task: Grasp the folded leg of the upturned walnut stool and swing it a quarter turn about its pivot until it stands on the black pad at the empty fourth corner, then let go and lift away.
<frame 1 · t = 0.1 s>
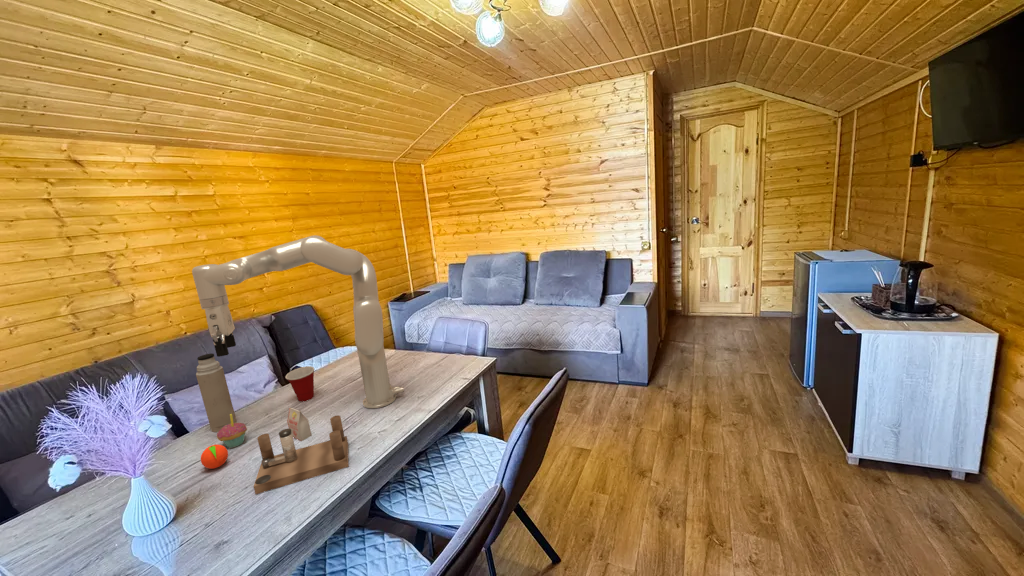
hand: (227, 351, 140), 31 cm above the table, tool pointing down, fingers open, 9 cm apart
cupcake: (235, 444, 141), on the table
stool seat: (305, 466, 124), on the table
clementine: (217, 467, 129), on the table
plastic cup: (305, 399, 171), on the table
thermos bottle: (224, 426, 154), on the table
stool leg: (277, 448, 122), point 7 cm above the table, hinge at 90.0°
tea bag: (301, 436, 142), on the table
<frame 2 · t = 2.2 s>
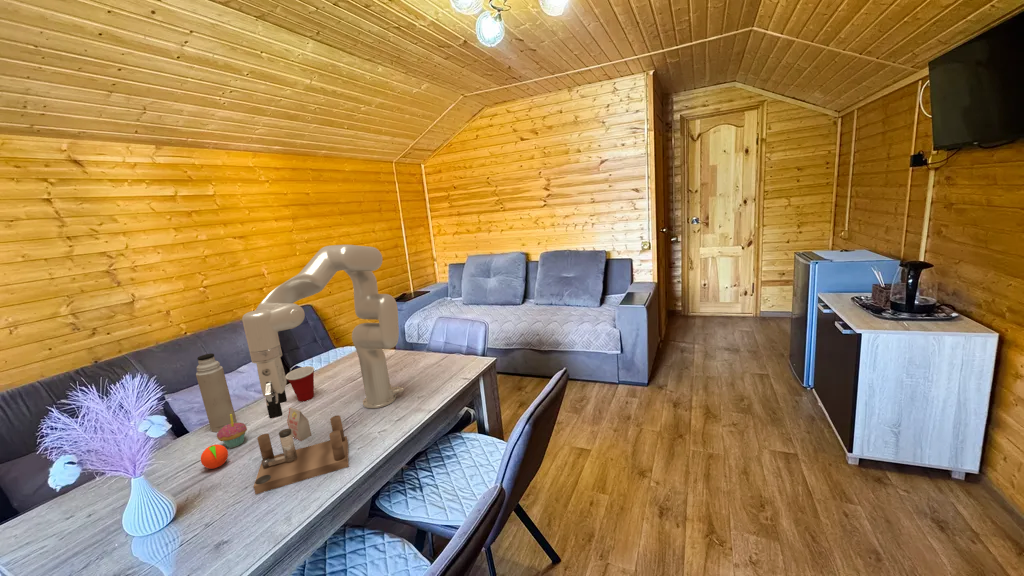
hand: (278, 409, 120), 19 cm above the table, tool pointing down, fingers open, 9 cm apart
nothing on the table moved.
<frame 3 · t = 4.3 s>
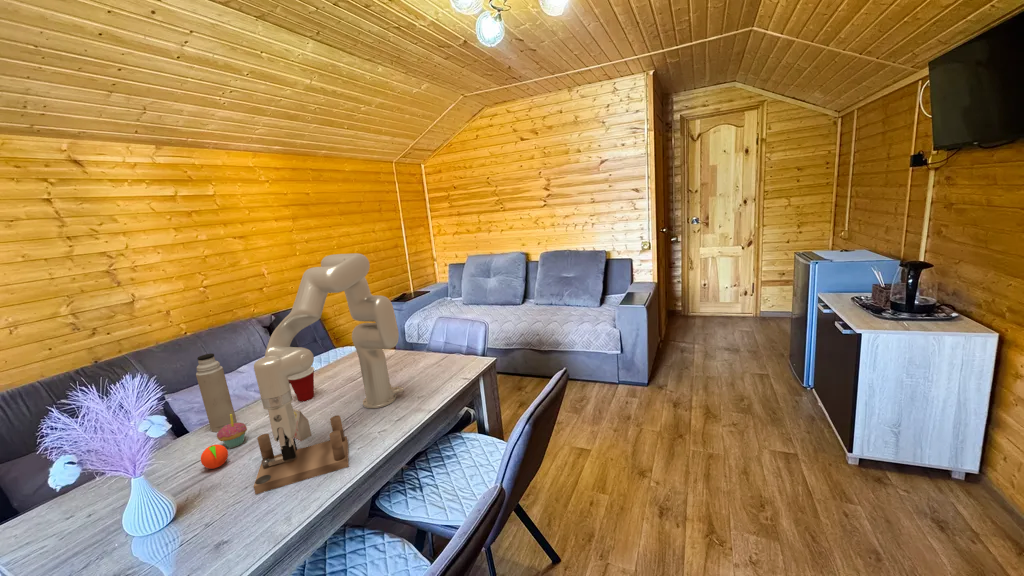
hand: (290, 454, 124), 4 cm above the table, tool pointing down, fingers closed on stool leg, 3 cm apart
stool leg: (277, 448, 122), point 7 cm above the table, hinge at 90.0°, touching gripper
everything else where it was.
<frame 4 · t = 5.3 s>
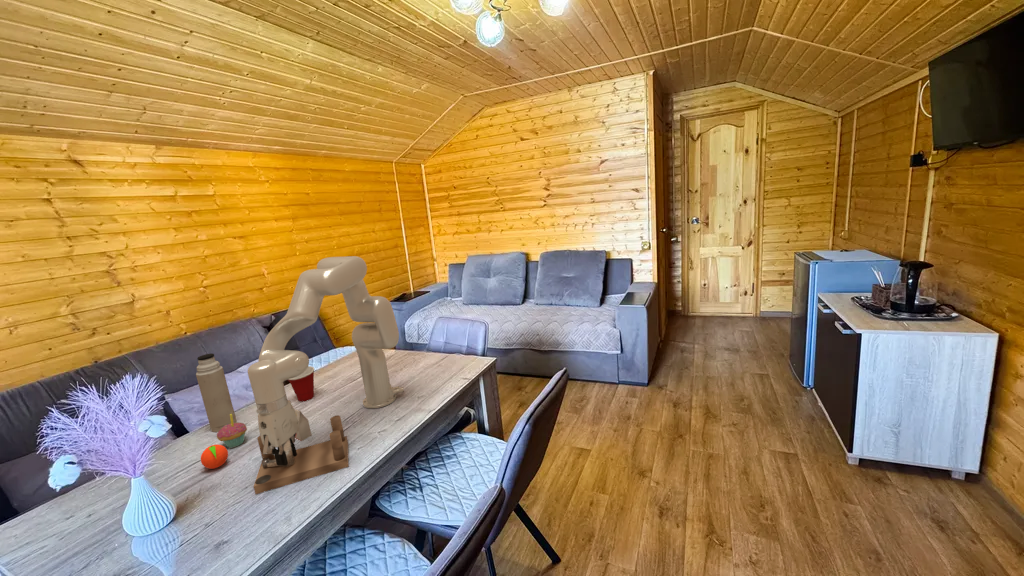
hand: (287, 459, 121), 4 cm above the table, tool pointing down, fingers closed on stool leg, 3 cm apart
stool leg: (275, 450, 121), point 7 cm above the table, hinge at 68.5°, touching gripper
everything else where it was.
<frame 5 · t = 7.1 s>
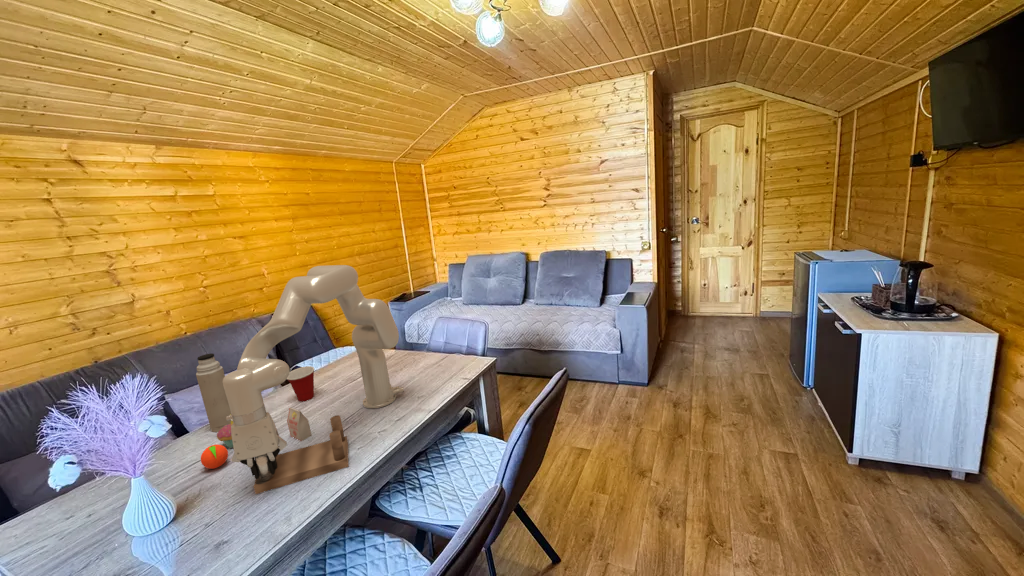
hand: (265, 473, 116), 4 cm above the table, tool pointing down, fingers closed on stool leg, 3 cm apart
stool leg: (263, 457, 118), point 7 cm above the table, hinge at 8.7°, touching gripper
everything else where it was.
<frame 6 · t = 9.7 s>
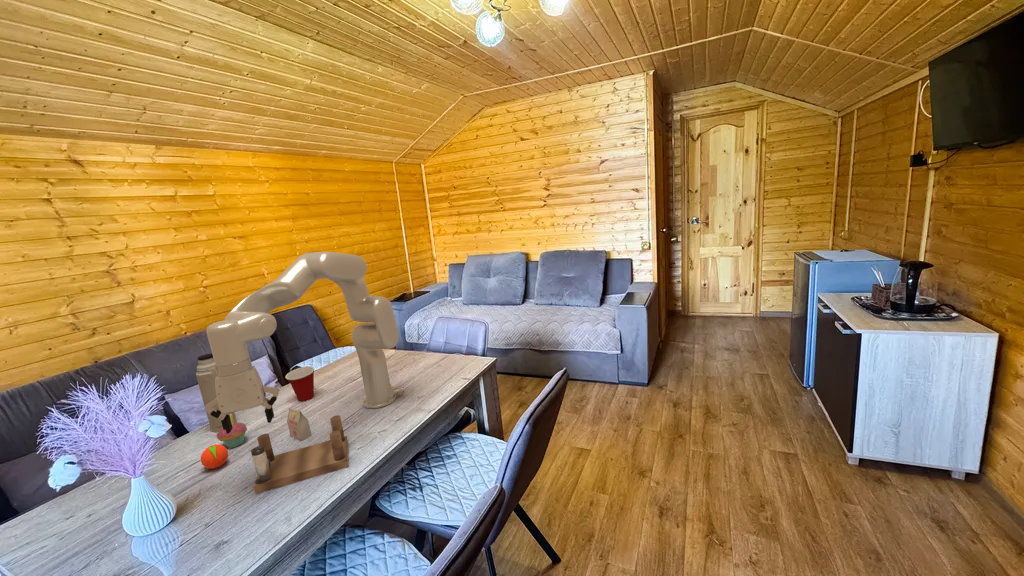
hand: (250, 425, 112), 19 cm above the table, tool pointing down, fingers open, 9 cm apart
stool leg: (262, 458, 117), point 7 cm above the table, hinge at 4.6°
everything else where it was.
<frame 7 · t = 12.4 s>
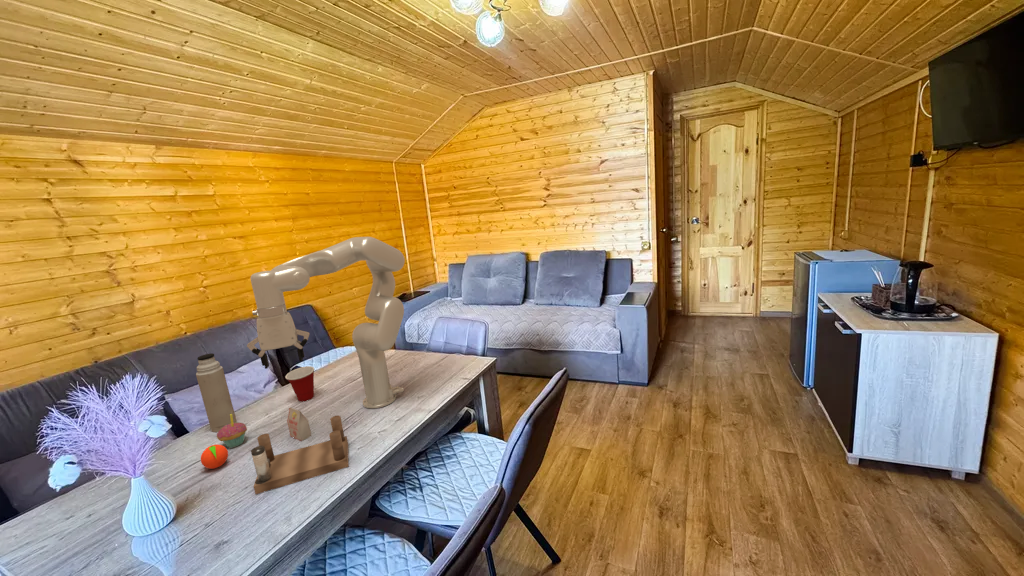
hand: (284, 363, 131), 28 cm above the table, tool pointing down, fingers open, 9 cm apart
nothing on the table moved.
at the end: stool leg at +5° (first picture: +90°); the gripper is holding nothing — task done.
